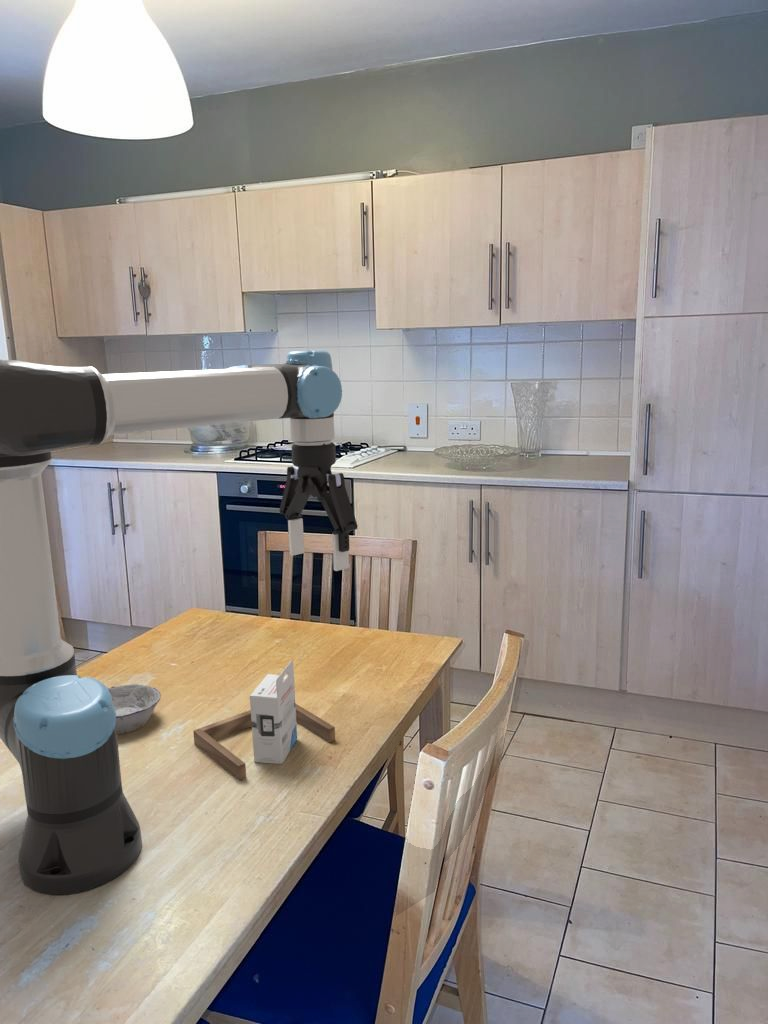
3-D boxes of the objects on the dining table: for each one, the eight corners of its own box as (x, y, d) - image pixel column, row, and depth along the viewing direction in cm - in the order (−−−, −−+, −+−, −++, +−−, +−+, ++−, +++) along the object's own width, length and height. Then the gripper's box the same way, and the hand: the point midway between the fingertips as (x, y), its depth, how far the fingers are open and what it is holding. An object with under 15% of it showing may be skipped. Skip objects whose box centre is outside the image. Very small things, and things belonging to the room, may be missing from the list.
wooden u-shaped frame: (239, 780, 120) (238, 766, 120) (194, 744, 132) (193, 730, 131) (335, 740, 132) (334, 726, 131) (286, 709, 143) (285, 697, 143)
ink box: (270, 736, 134) (266, 656, 131) (298, 739, 133) (294, 658, 130) (253, 762, 126) (247, 677, 122) (282, 765, 125) (277, 679, 121)
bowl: (70, 731, 138) (67, 705, 137) (126, 701, 149) (123, 678, 148) (122, 747, 132) (120, 721, 130) (176, 715, 142) (174, 691, 141)
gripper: (376, 446, 127) (379, 571, 131) (291, 434, 145) (296, 544, 150) (339, 451, 122) (343, 580, 126) (256, 438, 141) (263, 552, 145)
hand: (318, 561), depth 138 cm, fingers open, 13 cm apart
